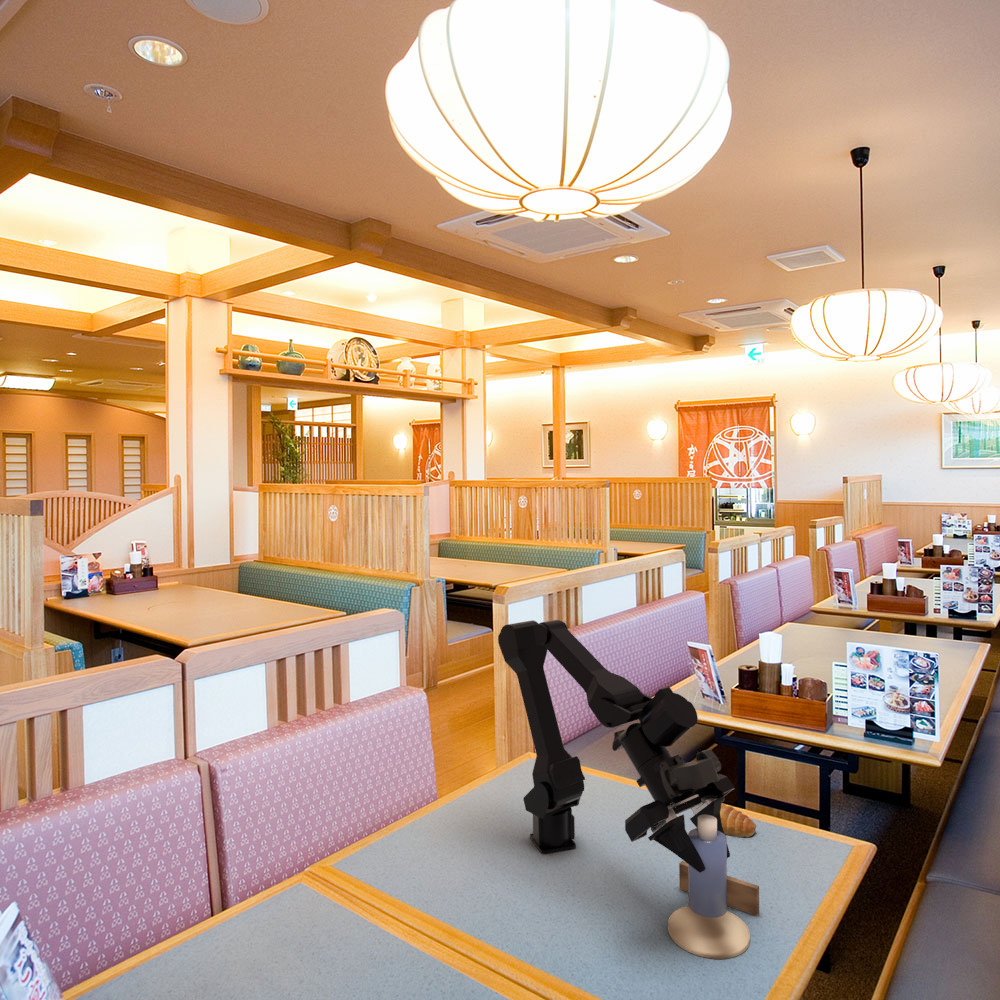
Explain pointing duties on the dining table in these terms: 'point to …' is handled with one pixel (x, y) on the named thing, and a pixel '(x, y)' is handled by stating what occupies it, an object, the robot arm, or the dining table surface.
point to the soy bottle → (708, 870)
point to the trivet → (709, 934)
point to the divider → (730, 891)
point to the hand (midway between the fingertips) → (715, 864)
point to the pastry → (736, 822)
